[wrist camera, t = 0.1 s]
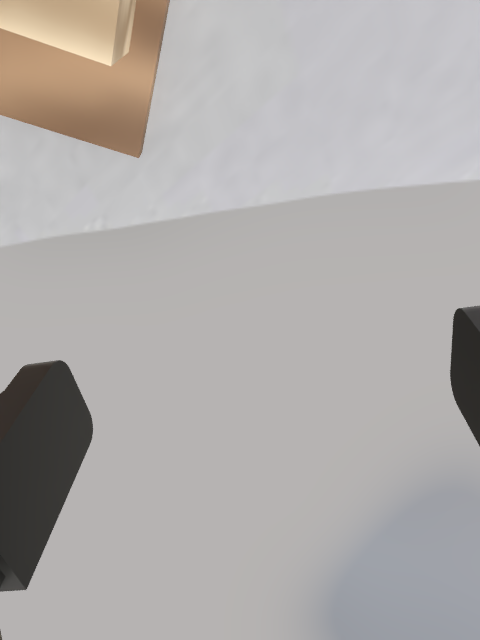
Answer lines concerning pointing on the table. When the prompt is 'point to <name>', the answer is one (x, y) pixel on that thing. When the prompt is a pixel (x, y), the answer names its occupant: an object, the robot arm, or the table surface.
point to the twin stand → (82, 67)
